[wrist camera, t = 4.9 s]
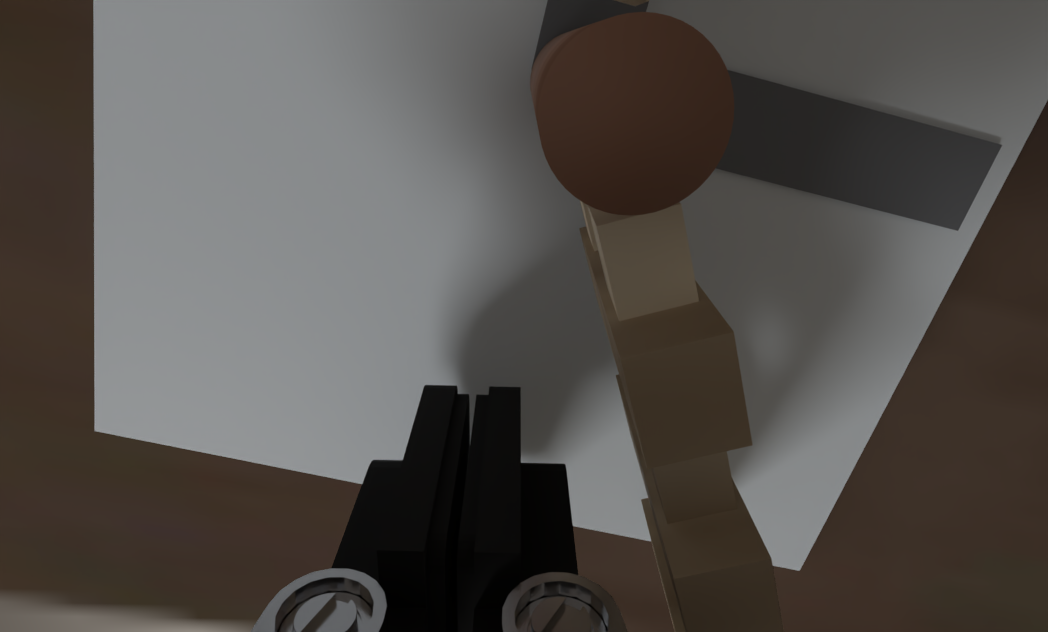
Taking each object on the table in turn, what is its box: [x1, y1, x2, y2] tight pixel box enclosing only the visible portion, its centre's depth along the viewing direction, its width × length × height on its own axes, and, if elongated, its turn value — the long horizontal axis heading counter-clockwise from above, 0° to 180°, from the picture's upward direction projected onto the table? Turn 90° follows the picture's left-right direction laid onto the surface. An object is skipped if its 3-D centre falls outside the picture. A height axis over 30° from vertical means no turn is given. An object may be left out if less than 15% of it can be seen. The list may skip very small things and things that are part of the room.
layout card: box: [94, 0, 1048, 571], centre depth 10 cm, size 17×14×1 cm
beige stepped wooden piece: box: [530, 12, 784, 632], centre depth 8 cm, size 9×1×5 cm, turn 15°
